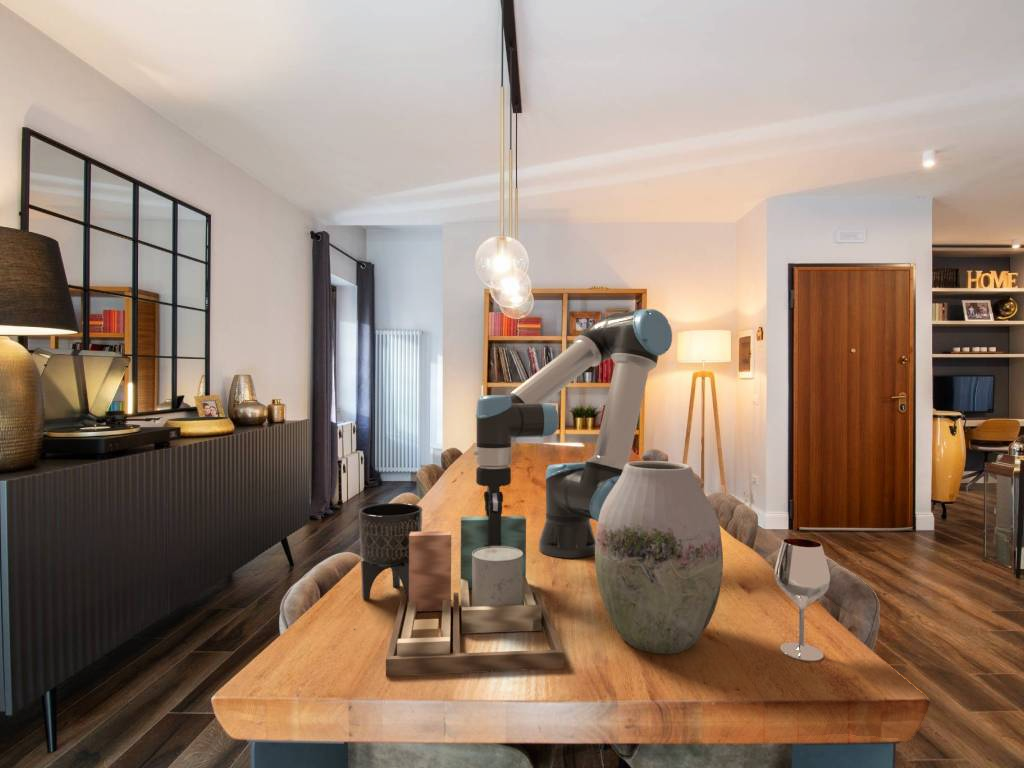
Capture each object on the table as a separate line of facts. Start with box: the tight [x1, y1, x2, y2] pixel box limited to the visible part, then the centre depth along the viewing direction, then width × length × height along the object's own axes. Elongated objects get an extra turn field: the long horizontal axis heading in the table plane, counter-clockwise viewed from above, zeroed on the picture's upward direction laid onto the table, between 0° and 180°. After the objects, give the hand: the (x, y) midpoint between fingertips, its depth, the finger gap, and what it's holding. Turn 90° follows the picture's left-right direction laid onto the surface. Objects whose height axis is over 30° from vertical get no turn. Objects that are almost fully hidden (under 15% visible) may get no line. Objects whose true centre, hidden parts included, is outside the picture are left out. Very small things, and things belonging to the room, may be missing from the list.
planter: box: [358, 502, 423, 602], centre depth 120 cm, size 13×13×18 cm
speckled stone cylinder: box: [471, 546, 523, 607], centre depth 108 cm, size 10×10×12 cm
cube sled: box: [397, 530, 452, 656], centre depth 101 cm, size 8×26×14 cm, turn 6°
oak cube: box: [412, 618, 440, 638], centre depth 96 cm, size 4×4×4 cm
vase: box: [594, 460, 724, 655], centre depth 100 cm, size 21×21×30 cm
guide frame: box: [385, 589, 565, 677], centre depth 101 cm, size 27×27×2 cm
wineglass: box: [774, 537, 831, 662], centre depth 95 cm, size 8×8×18 cm
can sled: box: [459, 515, 542, 634], centre depth 114 cm, size 14×26×14 cm, turn 6°
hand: (492, 573), depth 126 cm, fingers open, 4 cm apart
